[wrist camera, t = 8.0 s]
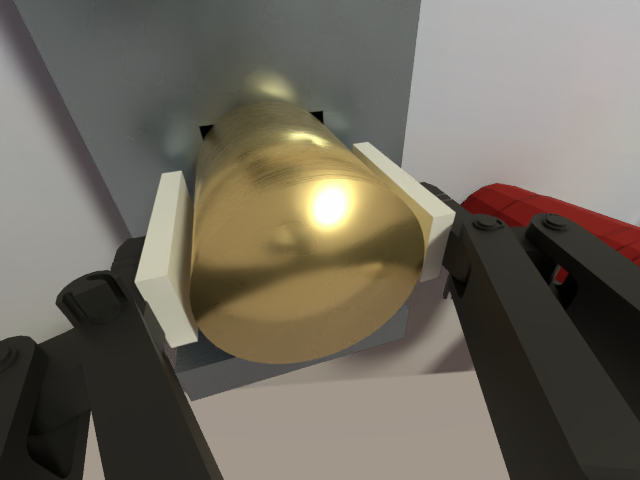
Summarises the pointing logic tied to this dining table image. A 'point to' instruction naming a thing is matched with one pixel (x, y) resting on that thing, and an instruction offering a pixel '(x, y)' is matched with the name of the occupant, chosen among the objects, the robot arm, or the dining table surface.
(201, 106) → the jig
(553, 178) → the dining table surface
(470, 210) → the plastic cup
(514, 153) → the dining table surface
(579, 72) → the dining table surface
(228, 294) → the golden knob
